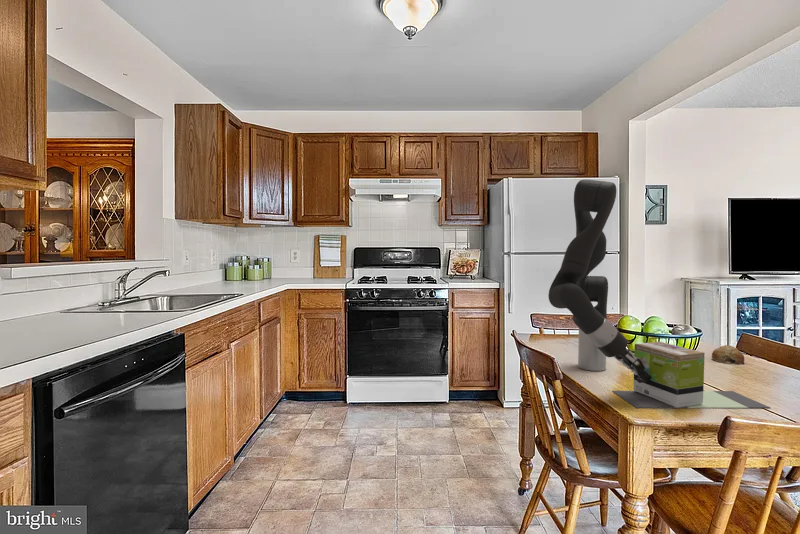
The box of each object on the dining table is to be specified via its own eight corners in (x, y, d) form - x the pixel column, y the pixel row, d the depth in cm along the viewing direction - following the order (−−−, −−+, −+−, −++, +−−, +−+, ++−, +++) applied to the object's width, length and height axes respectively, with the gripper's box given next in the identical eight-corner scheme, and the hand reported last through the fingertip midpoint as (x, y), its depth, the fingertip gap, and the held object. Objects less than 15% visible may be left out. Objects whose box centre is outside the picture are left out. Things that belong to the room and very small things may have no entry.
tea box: (631, 391, 135) (632, 342, 134) (657, 388, 138) (659, 340, 137) (676, 408, 121) (678, 353, 120) (704, 404, 124) (706, 351, 123)
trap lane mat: (612, 391, 136) (612, 390, 136) (732, 391, 136) (732, 391, 136) (636, 408, 122) (636, 407, 122) (770, 408, 122) (770, 407, 122)
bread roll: (714, 371, 171) (719, 354, 168) (706, 354, 180) (710, 338, 177) (745, 373, 169) (750, 356, 165) (735, 356, 177) (739, 339, 174)
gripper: (626, 332, 122) (671, 377, 122) (604, 323, 135) (645, 364, 135) (606, 351, 122) (650, 396, 122) (586, 341, 135) (626, 382, 135)
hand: (647, 379), depth 129 cm, fingers closed
